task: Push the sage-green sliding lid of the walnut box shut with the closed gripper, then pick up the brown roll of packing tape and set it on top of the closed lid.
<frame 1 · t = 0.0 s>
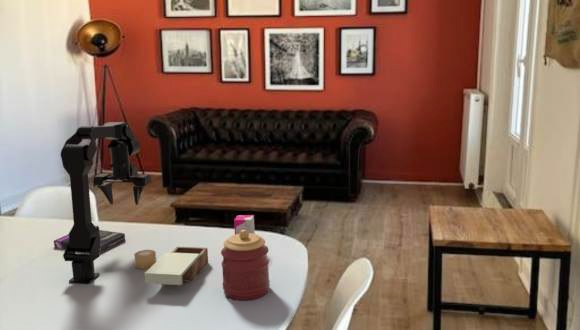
hand: (124, 204, 187), 15 cm above the table, tool pointing down, fingers open, 9 cm apart
walnut box: (185, 271, 166), on the table
canister: (246, 291, 152), on the table
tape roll: (146, 265, 172), on the table
supplement box: (245, 250, 182), on the table
box: (90, 245, 192), on the table
lid: (173, 267, 157), point 5 cm above the table, slide at 8.0 cm
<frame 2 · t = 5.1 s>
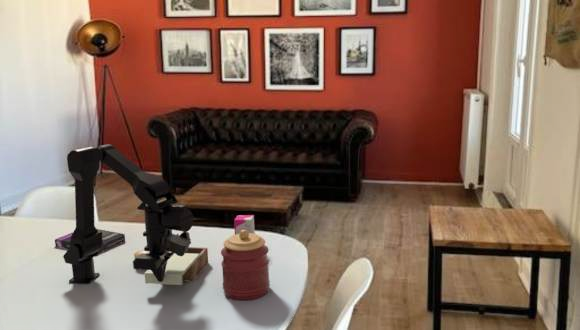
hand: (160, 281, 149), 4 cm above the table, tool pointing down, fingers closed
lid: (173, 267, 157), point 5 cm above the table, slide at 8.0 cm, touching gripper
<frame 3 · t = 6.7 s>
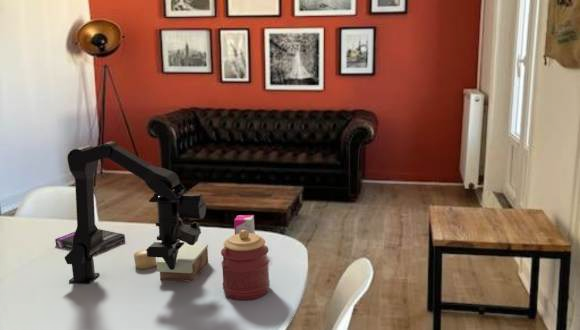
hand: (172, 269, 156), 4 cm above the table, tool pointing down, fingers closed
lid: (183, 257, 165), point 5 cm above the table, slide at 0.0 cm, touching gripper
everything else where it was.
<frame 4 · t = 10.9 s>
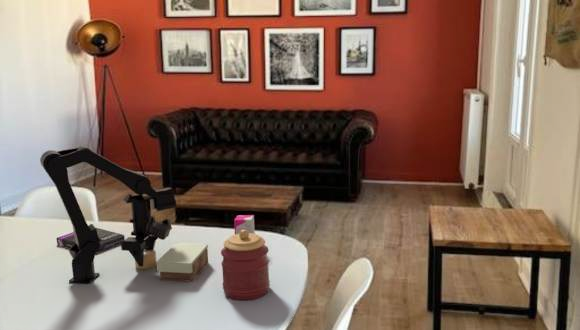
hand: (145, 262, 171), 1 cm above the table, tool pointing down, fingers closed on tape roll, 6 cm apart
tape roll: (146, 265, 172), on the table, touching gripper
lid: (183, 257, 165), point 5 cm above the table, slide at 0.0 cm
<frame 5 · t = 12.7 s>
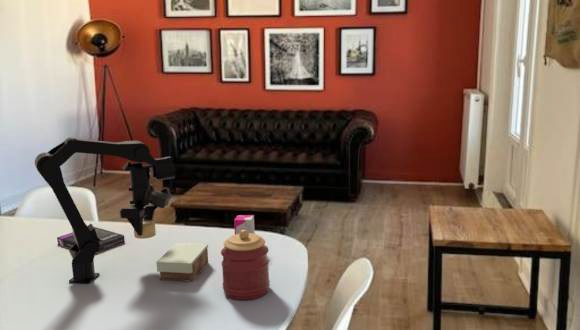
hand: (144, 231, 169), 11 cm above the table, tool pointing down, fingers closed on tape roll, 6 cm apart
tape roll: (145, 235, 169), point 10 cm above the table, touching gripper
when the fingers open (8 cm above the table, at t = 14.4 s): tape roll drops 1 cm, resting on lid.
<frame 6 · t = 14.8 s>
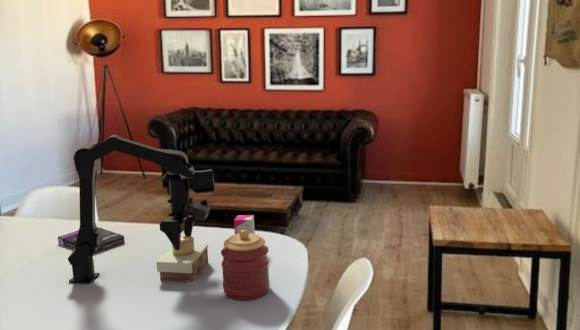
hand: (183, 244, 164), 8 cm above the table, tool pointing down, fingers open, 9 cm apart
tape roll: (183, 252, 165), point 6 cm above the table, touching lid
lid: (183, 257, 165), point 5 cm above the table, slide at 0.0 cm, touching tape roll
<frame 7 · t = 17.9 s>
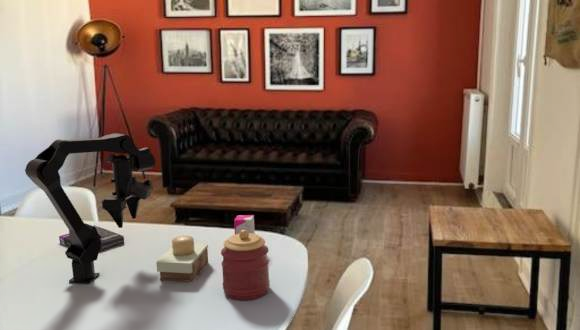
hand: (127, 222, 172), 13 cm above the table, tool pointing down, fingers open, 9 cm apart
at the end: lid slide at 0.0 cm; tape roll inside the target area on the walnut box (0.1 cm from its centre), point 6.1 cm above the walnut box's base; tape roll tilted 0° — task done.
